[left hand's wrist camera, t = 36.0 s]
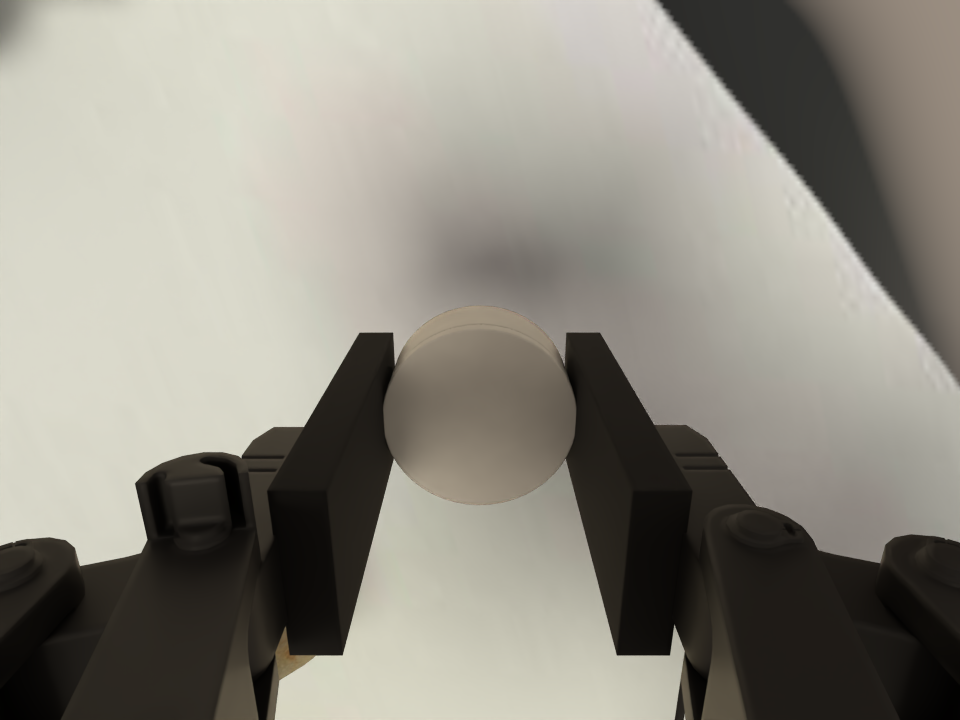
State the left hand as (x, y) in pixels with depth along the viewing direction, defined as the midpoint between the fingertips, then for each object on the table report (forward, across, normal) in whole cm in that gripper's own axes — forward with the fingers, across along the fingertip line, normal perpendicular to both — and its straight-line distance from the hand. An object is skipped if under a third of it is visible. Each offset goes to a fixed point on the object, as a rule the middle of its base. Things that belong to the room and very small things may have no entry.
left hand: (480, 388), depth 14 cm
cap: (-2, 0, 0) cm, 2 cm away
